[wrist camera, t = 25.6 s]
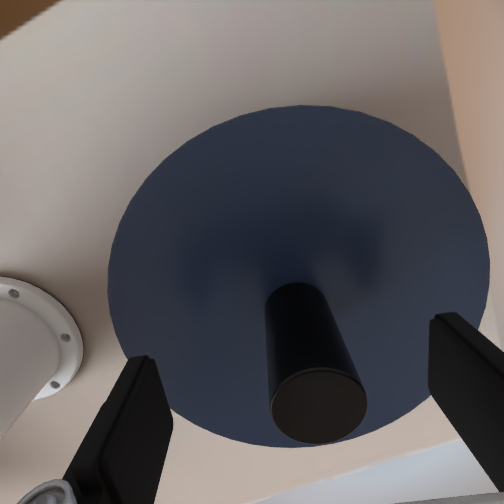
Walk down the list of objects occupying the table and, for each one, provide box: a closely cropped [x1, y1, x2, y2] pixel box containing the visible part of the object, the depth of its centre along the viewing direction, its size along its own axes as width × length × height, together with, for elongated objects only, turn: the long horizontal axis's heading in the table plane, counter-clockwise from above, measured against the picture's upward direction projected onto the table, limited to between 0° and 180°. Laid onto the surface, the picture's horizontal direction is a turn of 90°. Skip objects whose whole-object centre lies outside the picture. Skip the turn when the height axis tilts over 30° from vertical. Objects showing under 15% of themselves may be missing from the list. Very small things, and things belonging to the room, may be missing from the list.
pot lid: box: [107, 105, 490, 448], centre depth 12 cm, size 17×17×7 cm
